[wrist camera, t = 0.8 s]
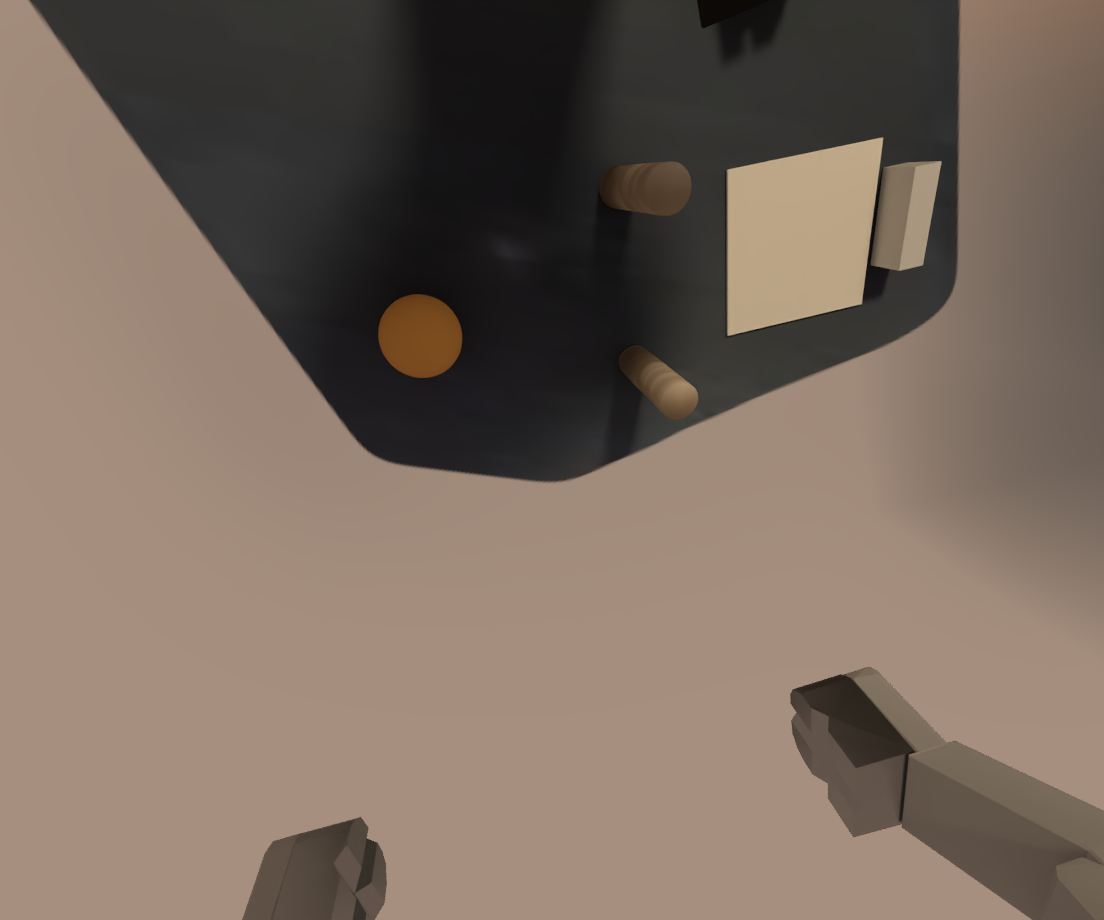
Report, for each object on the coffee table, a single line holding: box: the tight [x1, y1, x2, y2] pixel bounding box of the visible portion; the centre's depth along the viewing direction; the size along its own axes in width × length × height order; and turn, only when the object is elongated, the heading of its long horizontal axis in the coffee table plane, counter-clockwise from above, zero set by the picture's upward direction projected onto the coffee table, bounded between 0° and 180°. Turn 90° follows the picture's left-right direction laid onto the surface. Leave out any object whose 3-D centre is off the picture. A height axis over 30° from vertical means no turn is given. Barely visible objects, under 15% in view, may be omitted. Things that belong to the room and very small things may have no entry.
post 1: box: [599, 161, 691, 216], centre depth 32 cm, size 3×3×9 cm
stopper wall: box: [870, 161, 941, 271], centre depth 39 cm, size 7×2×3 cm, turn 10°
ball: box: [378, 294, 462, 378], centre depth 35 cm, size 6×6×6 cm
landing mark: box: [726, 138, 883, 336], centre depth 40 cm, size 12×12×1 cm
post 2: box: [619, 345, 698, 420], centre depth 38 cm, size 3×3×9 cm
